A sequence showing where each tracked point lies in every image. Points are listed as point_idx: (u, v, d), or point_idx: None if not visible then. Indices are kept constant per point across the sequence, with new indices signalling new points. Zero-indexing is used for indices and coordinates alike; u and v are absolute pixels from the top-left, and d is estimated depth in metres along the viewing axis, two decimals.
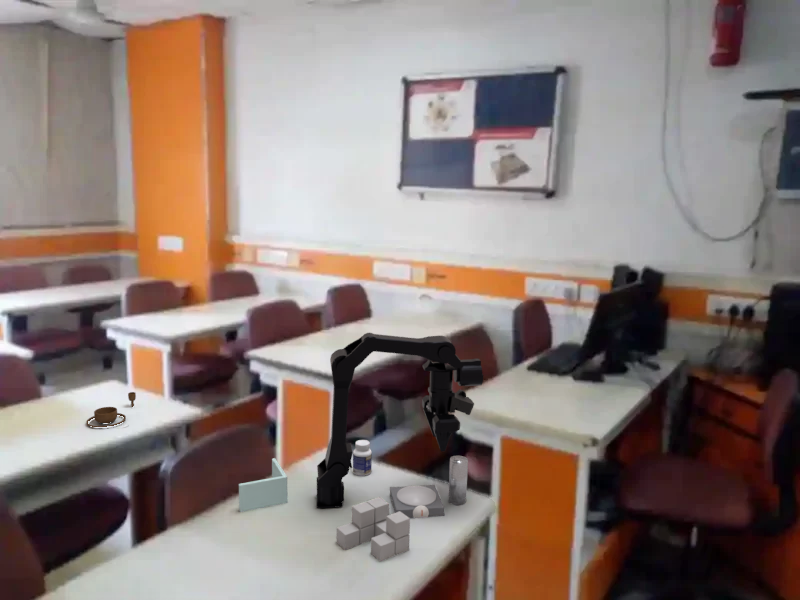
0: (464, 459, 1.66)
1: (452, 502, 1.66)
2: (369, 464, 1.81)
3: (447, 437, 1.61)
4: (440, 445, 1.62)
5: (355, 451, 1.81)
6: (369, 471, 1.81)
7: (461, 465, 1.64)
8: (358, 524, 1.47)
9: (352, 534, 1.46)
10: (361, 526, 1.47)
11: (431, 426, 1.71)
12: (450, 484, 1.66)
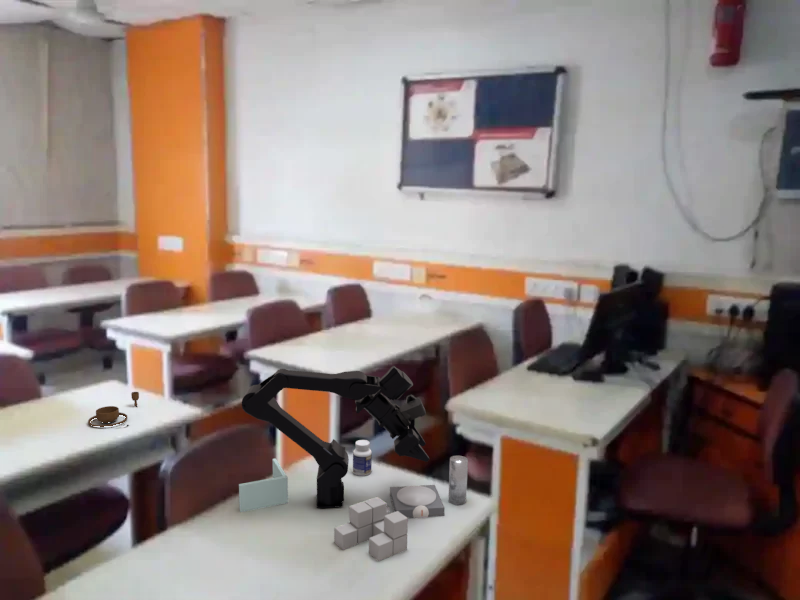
0: (464, 459, 1.66)
1: (452, 502, 1.66)
2: (369, 464, 1.81)
3: (419, 449, 1.58)
4: (420, 458, 1.60)
5: (355, 451, 1.81)
6: (369, 471, 1.81)
7: (461, 465, 1.64)
8: (356, 524, 1.47)
9: (350, 534, 1.46)
10: (359, 526, 1.47)
11: None
12: (450, 484, 1.66)
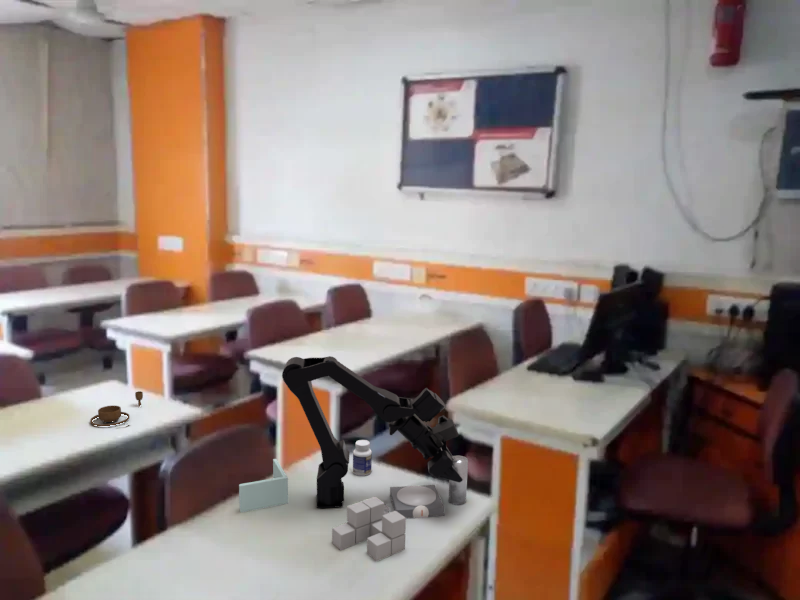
0: (464, 459, 1.66)
1: (452, 502, 1.66)
2: (369, 464, 1.81)
3: (452, 470, 1.60)
4: (454, 479, 1.61)
5: (355, 451, 1.81)
6: (369, 471, 1.81)
7: (461, 464, 1.64)
8: (354, 524, 1.47)
9: (348, 534, 1.46)
10: (357, 526, 1.47)
11: None
12: (450, 484, 1.66)
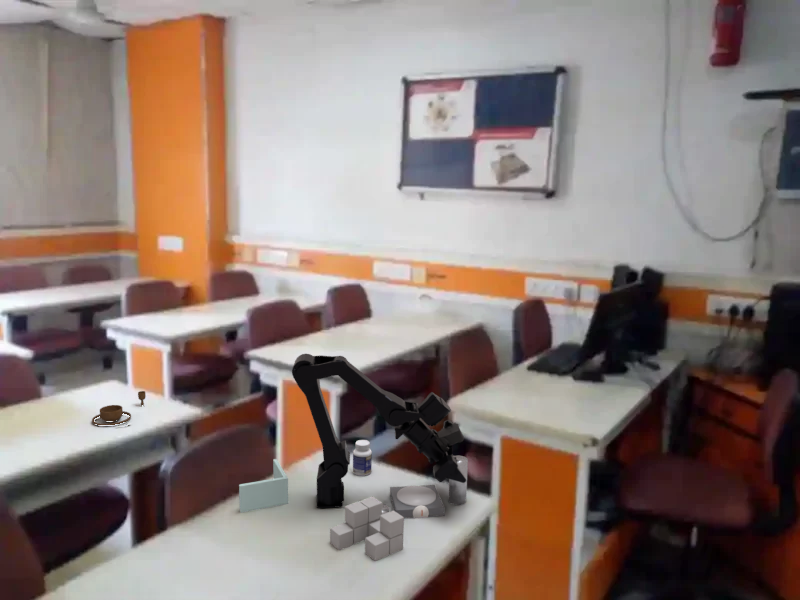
0: (464, 459, 1.66)
1: (452, 502, 1.66)
2: (369, 464, 1.81)
3: (456, 471, 1.62)
4: (458, 480, 1.64)
5: (355, 451, 1.81)
6: (369, 471, 1.81)
7: (460, 464, 1.64)
8: (352, 524, 1.47)
9: (346, 534, 1.46)
10: (355, 526, 1.47)
11: None
12: (450, 484, 1.66)
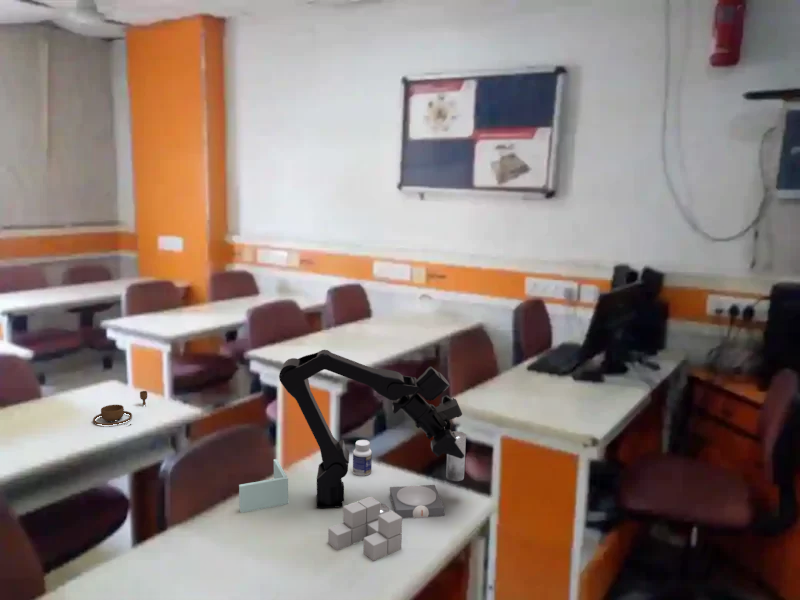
0: (462, 435, 1.64)
1: (450, 478, 1.65)
2: (369, 464, 1.81)
3: (454, 446, 1.61)
4: (456, 455, 1.62)
5: (355, 451, 1.81)
6: (369, 471, 1.81)
7: (459, 440, 1.62)
8: (350, 524, 1.47)
9: (344, 534, 1.46)
10: (353, 526, 1.47)
11: None
12: (448, 460, 1.65)
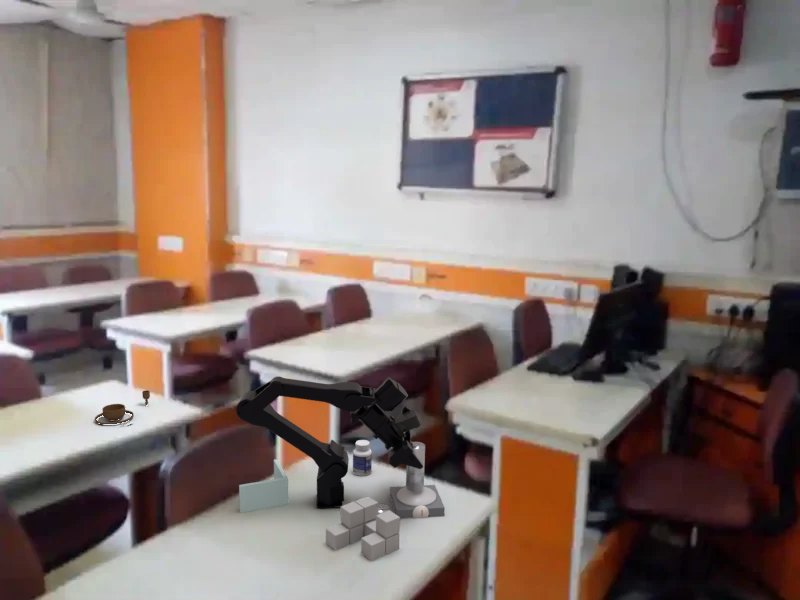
0: (421, 445, 1.64)
1: (409, 488, 1.65)
2: (369, 464, 1.81)
3: (413, 457, 1.61)
4: (414, 466, 1.62)
5: (355, 451, 1.81)
6: (369, 471, 1.81)
7: (417, 450, 1.62)
8: (347, 524, 1.47)
9: (342, 534, 1.45)
10: (351, 526, 1.47)
11: None
12: (407, 470, 1.65)
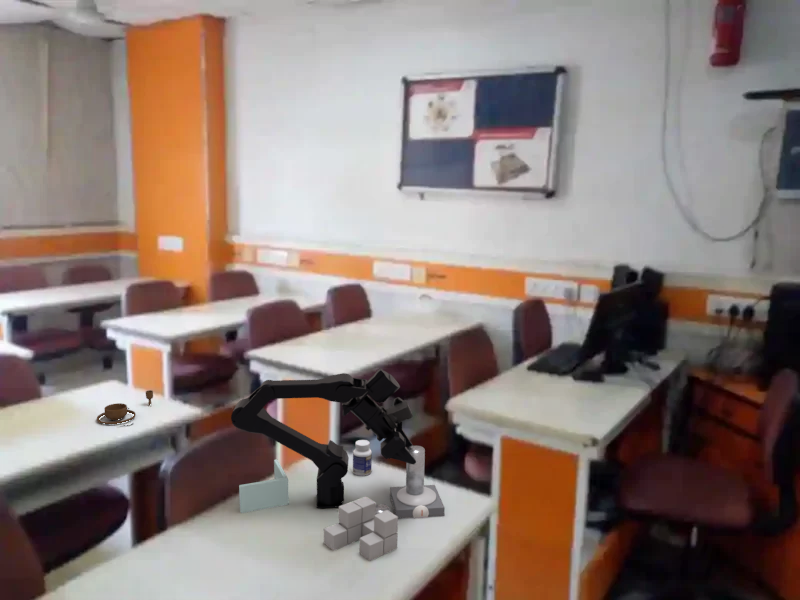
0: (421, 449, 1.65)
1: (409, 492, 1.65)
2: (369, 464, 1.81)
3: (405, 452, 1.58)
4: (407, 461, 1.59)
5: (355, 451, 1.81)
6: (369, 471, 1.81)
7: (417, 454, 1.63)
8: (346, 524, 1.47)
9: (340, 534, 1.45)
10: (349, 526, 1.47)
11: None
12: (407, 474, 1.65)
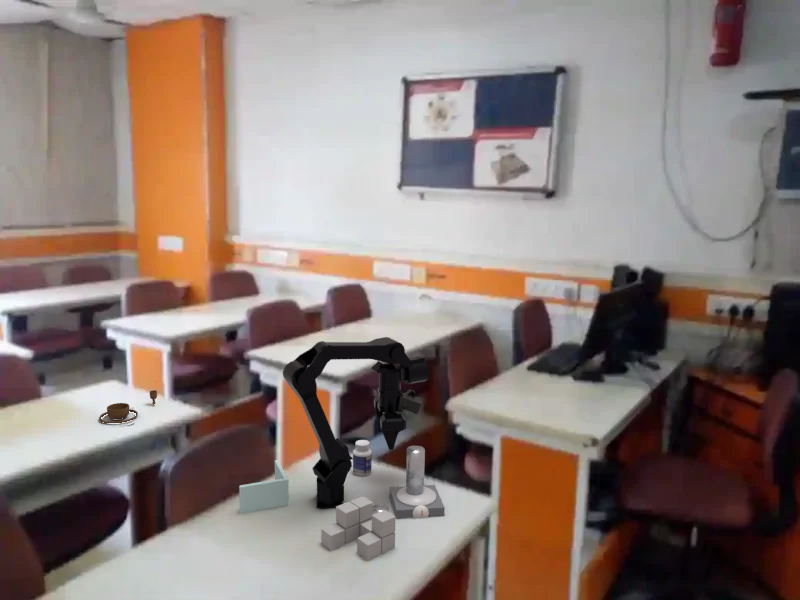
0: (421, 449, 1.65)
1: (409, 492, 1.65)
2: (369, 464, 1.81)
3: (395, 436, 1.65)
4: (388, 444, 1.66)
5: (355, 451, 1.81)
6: (369, 471, 1.81)
7: (417, 454, 1.62)
8: (343, 524, 1.47)
9: (337, 534, 1.45)
10: (346, 526, 1.47)
11: None
12: (407, 474, 1.65)
